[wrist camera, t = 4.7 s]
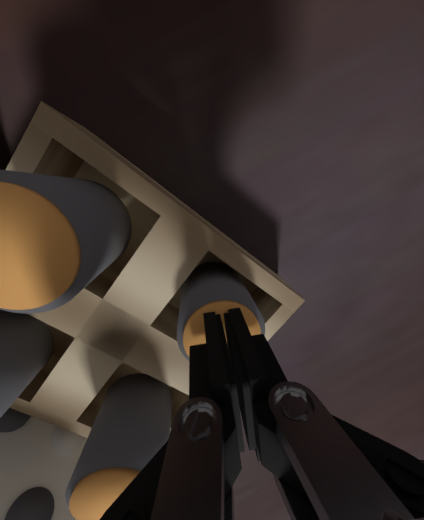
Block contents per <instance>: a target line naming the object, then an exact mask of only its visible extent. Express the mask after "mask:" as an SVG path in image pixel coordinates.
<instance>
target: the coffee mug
mask: <svg viewBox="0 0 424 520" xmlns="http://www.w3.org/2000/svg"><path fill="white" fill-rule="evenodd" d="M10 160H11V156H10V153H9V150H8V147H7V145H6V143H5V141H4V139H3V137H2V136H1V134H0V170H6V168H7V166H8V164H9V162H10Z"/></svg>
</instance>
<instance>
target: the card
mask: <svg viewBox="0 0 424 520" xmlns="http://www.w3.org/2000/svg"><path fill="white" fill-rule="evenodd" d="M86 440H87V438H86V437H83V436H81V435H78V434H76V433H73V432H71V431H68V430H66V429H63V428H60V427H58V426H55V425H53V424H50V423H48V422H45V421H43V420H40V419H37V418H35V417H32V416H30V415H27V414H25V413H22V412H20V411H17V410H14V409H12V408H8V410H7V411H6V412H5V413H4V414H3V416H2V417H1V418H0V520H76V519H75V518H74V517H73V515H72V514H71V512H70V509H69V507H68V505H67V503H66V499H65V492H66V488H67V486H68V483H69V481H70V479H71V476H72V474H73V471H74V469H75V467H76V464H77V462H78V460H79V457H80V455H81V452H82V450H83V448H84V445H85V443H86Z"/></svg>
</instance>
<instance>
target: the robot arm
mask: <svg viewBox="0 0 424 520" xmlns="http://www.w3.org/2000/svg"><path fill="white" fill-rule="evenodd" d="M203 316H204V327H205V337H206V343H204V344H198V345H192V346H190V350H189V400H188V401H186V402H185V403H184V404H183V405H181V406H180V408H179V409H178V410H177V412H176V413H175V416H174V419H173V422H172V426H171V431H170V435H169V439H168V441H167V442H166V443H165V444H164V445H163V446H162V447H161V449H160V450H159V451H158V452H157V453H156V454H155V455H154V457H153V458H152V459H151V460H150V461H149V462H148V463H147V465H146V466H145V467H144V468H143V469H142V470H141V471H140V473H139V474H138V475H137V476H136V477H135V478H134V479H133V481H132V482H131V483H130V484H129V485H128V486H127V487H126V489H125V490H124V491H123V492H122V493H121V494H120V495H119V497H118V498H117V499H116V500H115V501H114V502H113V503H112V505H111V506H110V507H109V508H108V509H107V510H106V511H105V513H104V514H103V516H102V517H101V518H100V520H234V492H233V484H234V482H235V480H236V478H237V476H238V475H239V473H240V471H241V469H242V468H241V460H240V453H239V452H244V442H243V434H242V426H241V418H240V411H241V416H242V420H243V425H244V429H245V434H246V438H247V443H248V447H249V450H254V449H255V451H256V455H257V459H258V461H261V464H262V465H263V466H264V467H265V468H267V469H268V470H269V471H270V472H272V473H273V475H274V479H275V482H276V484H277V487H278V489H279V492H280V494H281V496H282V499H283V501H284V504H285V506H286V508H287V511H288V513H289V516H290V518H291V520H424V460H418V459H417V458H415V457H414V456H412V455H410V454H409V453H407V452H405V451H403V450H401V449H399V448H397V447H395V446H393V445H391V444H389V443H387V442H385V441H383V440H381V439H379V438H377V437H375V436H373V435H371V434H369V433H367V432H365V431H363V430H361V429H359V428H357V427H355V426H353V425H351V424H349V423H347V422H345V421H343V420H341V419H339V418H337V417H335V416H333V415H331V414H330V412H329V411H328V410H327V409H326V407H325V406H324V405H323V404H322V402H321V401H320V400H319V399H318V397H317V396H316V395H315V394H314V393H313V392H312V391H311V390H310V389H309V388H307V387H306V386H304V385H302V384H299V383H296V382H289V381H287V379H286V377H285V375H284V373H283V371H282V369H281V367H280V365H279V363H278V361H277V359H276V357H275V355H274V353H273V351H272V349H271V348H270V346H269V344H268V342H267V340H266V338H265V336H264V334H258V335H252V336H251V333H250V331H249V329H248V326H247V324H246V321H245V319H244V317H243V314H242V312H241V309H240V308H233V309H228V313H224V321H225V329H226V336H227V341H226V337H225V333H224V328H223V324H222V320H221V316H220V314H215V311H214V312H208V313H203ZM227 344H228V345H227ZM239 407H240V409H239Z"/></svg>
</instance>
